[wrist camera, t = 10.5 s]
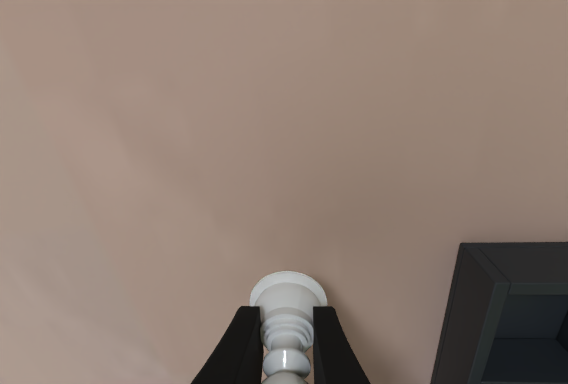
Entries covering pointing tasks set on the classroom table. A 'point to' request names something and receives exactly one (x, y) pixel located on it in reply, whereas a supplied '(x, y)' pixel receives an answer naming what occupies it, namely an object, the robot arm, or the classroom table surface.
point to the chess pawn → (287, 323)
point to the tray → (506, 316)
